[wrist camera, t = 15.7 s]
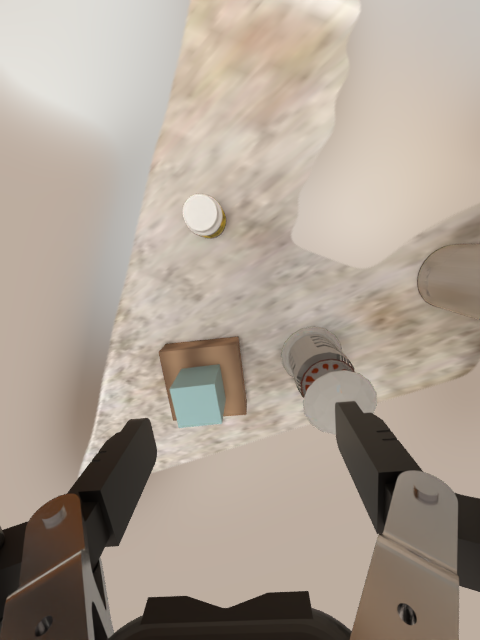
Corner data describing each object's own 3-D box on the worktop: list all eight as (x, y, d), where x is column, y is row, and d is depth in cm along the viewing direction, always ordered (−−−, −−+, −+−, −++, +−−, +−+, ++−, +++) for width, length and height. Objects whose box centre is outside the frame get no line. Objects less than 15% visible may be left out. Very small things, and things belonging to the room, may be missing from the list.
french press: (315, 314, 40) (414, 408, 16) (361, 364, 42) (509, 515, 18) (268, 353, 42) (294, 490, 18) (314, 400, 44) (392, 579, 20)
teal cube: (219, 364, 39) (214, 384, 34) (225, 399, 41) (221, 423, 35) (181, 368, 40) (169, 389, 34) (188, 403, 41) (178, 428, 36)
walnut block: (238, 335, 42) (237, 344, 38) (246, 400, 45) (246, 414, 41) (166, 343, 43) (158, 352, 39) (179, 406, 46) (173, 420, 42)
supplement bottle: (215, 244, 38) (206, 243, 30) (188, 226, 38) (171, 220, 30) (232, 215, 37) (228, 205, 29) (204, 196, 37) (191, 180, 28)
